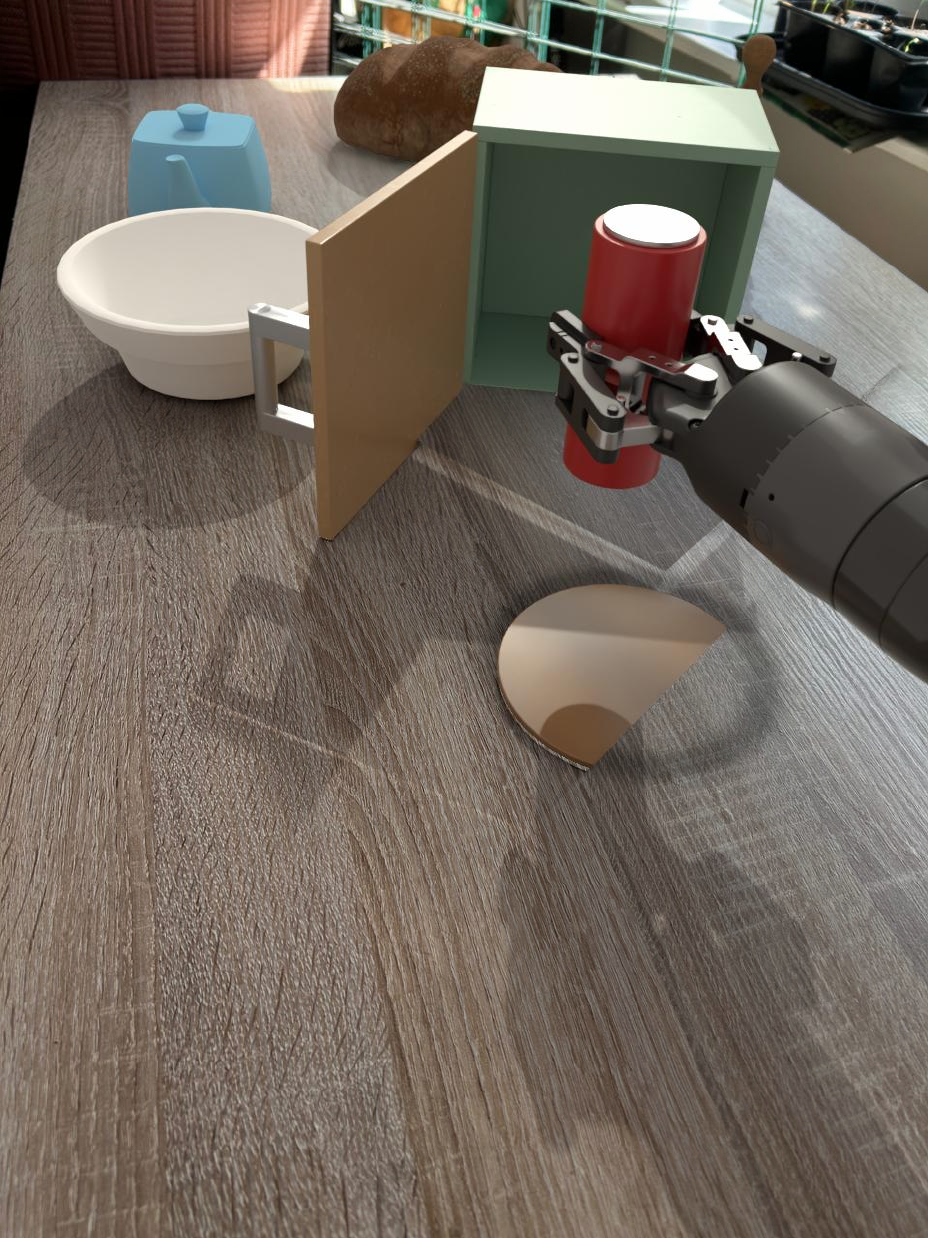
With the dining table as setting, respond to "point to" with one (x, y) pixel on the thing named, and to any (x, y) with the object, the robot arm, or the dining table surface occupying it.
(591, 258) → the can
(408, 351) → the wooden cabinet door
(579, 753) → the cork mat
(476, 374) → the green cabinet
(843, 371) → the dining table surface
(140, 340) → the bowl
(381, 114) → the bread
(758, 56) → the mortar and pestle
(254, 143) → the teapot
